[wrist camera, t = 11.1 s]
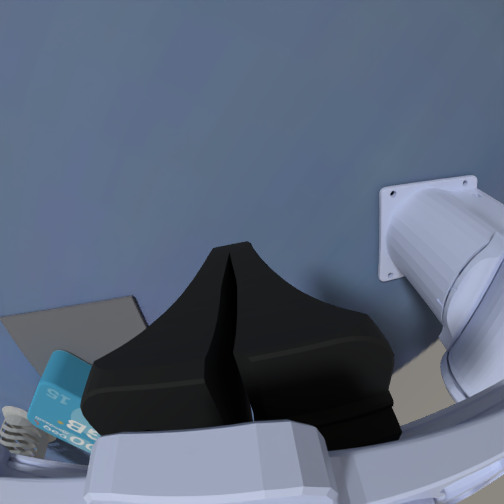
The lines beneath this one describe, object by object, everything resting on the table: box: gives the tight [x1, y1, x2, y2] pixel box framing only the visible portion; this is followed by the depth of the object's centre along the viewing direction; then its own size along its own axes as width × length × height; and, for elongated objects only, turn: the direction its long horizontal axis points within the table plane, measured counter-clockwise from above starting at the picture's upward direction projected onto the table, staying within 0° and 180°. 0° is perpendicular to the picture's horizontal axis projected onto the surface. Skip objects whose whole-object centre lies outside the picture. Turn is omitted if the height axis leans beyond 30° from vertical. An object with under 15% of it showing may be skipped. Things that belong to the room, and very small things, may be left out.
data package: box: [27, 350, 101, 453], centre depth 28 cm, size 12×4×12 cm
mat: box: [0, 295, 148, 377], centre depth 29 cm, size 16×18×1 cm
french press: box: [0, 406, 56, 459], centre depth 24 cm, size 10×12×25 cm
